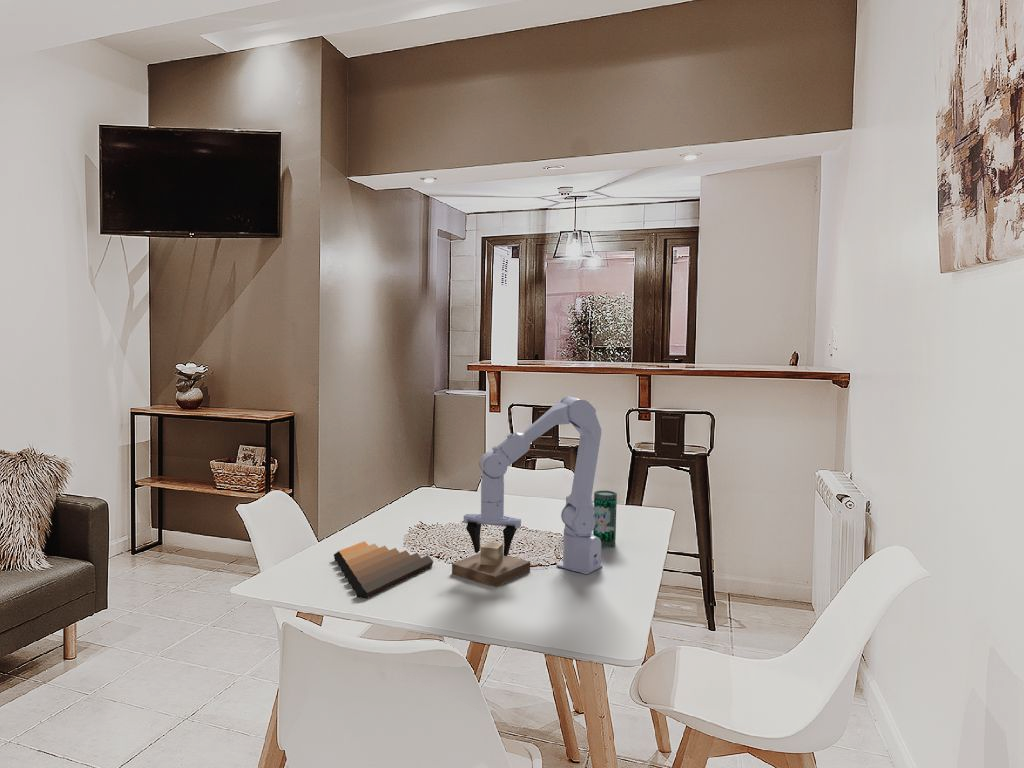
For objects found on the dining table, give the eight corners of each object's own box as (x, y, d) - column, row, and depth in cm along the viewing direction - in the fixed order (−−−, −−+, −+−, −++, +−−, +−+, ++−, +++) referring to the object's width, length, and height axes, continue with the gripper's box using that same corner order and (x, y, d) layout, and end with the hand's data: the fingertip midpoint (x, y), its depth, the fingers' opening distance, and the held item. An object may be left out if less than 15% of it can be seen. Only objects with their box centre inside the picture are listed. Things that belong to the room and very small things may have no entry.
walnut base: (530, 571, 169) (530, 561, 169) (495, 587, 158) (495, 576, 158) (487, 559, 178) (488, 550, 178) (451, 573, 167) (452, 563, 167)
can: (590, 545, 191) (591, 493, 190) (597, 539, 197) (599, 489, 196) (610, 548, 188) (612, 496, 187) (617, 543, 194) (619, 492, 193)
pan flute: (367, 602, 150) (433, 569, 171) (367, 587, 149) (433, 556, 171) (288, 580, 162) (359, 552, 184) (288, 566, 162) (359, 540, 183)
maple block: (502, 560, 169) (503, 543, 169) (497, 566, 165) (497, 548, 165) (486, 558, 171) (486, 541, 170) (480, 564, 166) (480, 546, 166)
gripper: (524, 498, 169) (523, 551, 170) (470, 494, 172) (469, 545, 173) (517, 505, 162) (516, 560, 163) (460, 500, 166) (460, 553, 167)
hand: (491, 553), depth 168 cm, fingers open, 7 cm apart
